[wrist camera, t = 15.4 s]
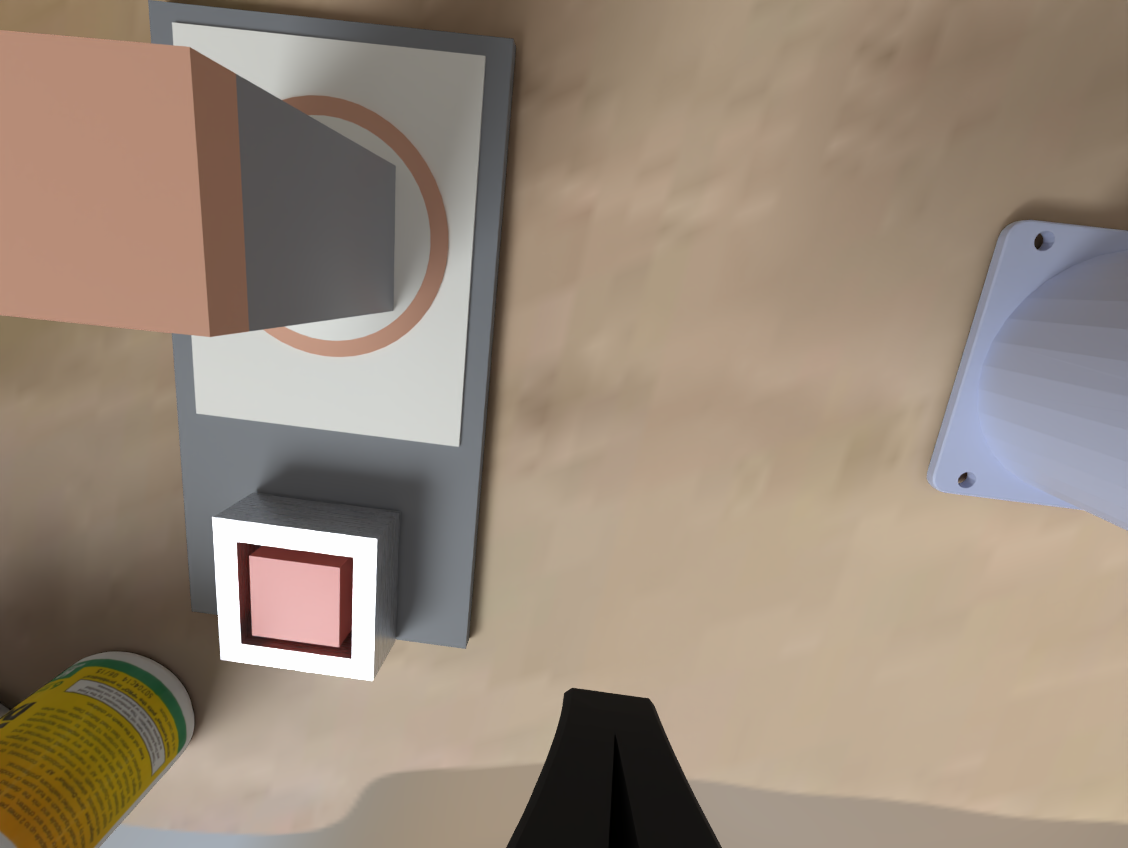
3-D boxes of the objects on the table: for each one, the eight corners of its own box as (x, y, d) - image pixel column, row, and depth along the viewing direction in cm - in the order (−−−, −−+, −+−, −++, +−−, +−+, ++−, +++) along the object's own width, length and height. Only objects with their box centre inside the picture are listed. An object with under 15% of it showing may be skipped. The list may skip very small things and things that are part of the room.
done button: (367, 537, 18) (339, 568, 16) (365, 610, 19) (339, 647, 17) (285, 526, 18) (249, 555, 17) (286, 599, 19) (252, 635, 17)
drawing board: (515, 46, 15) (512, 35, 14) (468, 639, 20) (464, 652, 19) (162, 9, 15) (141, -5, 15) (201, 603, 20) (187, 614, 19)
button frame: (400, 511, 18) (376, 539, 16) (395, 641, 19) (373, 680, 17) (253, 492, 18) (212, 517, 16) (257, 622, 19) (220, 659, 18)
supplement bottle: (167, 780, 22) (-135, 1131, 13) (49, 713, 22) (-353, 1029, 13) (223, 693, 21) (-68, 1014, 12) (99, 619, 21) (-307, 895, 11)
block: (395, 165, 15) (189, 47, 8) (393, 311, 16) (210, 336, 9) (256, 153, 15) (-87, 22, 8) (263, 297, 16) (-34, 311, 9)
